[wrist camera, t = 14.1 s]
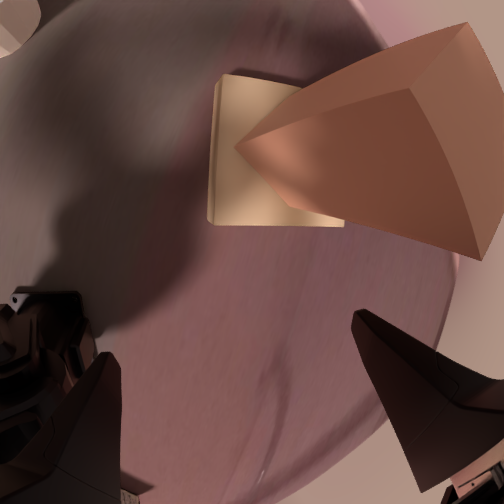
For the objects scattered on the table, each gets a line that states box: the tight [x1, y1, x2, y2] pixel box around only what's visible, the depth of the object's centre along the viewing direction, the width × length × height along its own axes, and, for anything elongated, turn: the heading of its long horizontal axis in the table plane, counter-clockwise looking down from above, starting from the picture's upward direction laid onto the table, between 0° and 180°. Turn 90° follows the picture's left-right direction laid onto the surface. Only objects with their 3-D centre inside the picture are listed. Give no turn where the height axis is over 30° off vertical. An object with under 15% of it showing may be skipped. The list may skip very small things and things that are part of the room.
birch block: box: [207, 74, 345, 227], centre depth 20 cm, size 10×10×3 cm
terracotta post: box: [234, 22, 504, 261], centre depth 12 cm, size 6×6×14 cm
